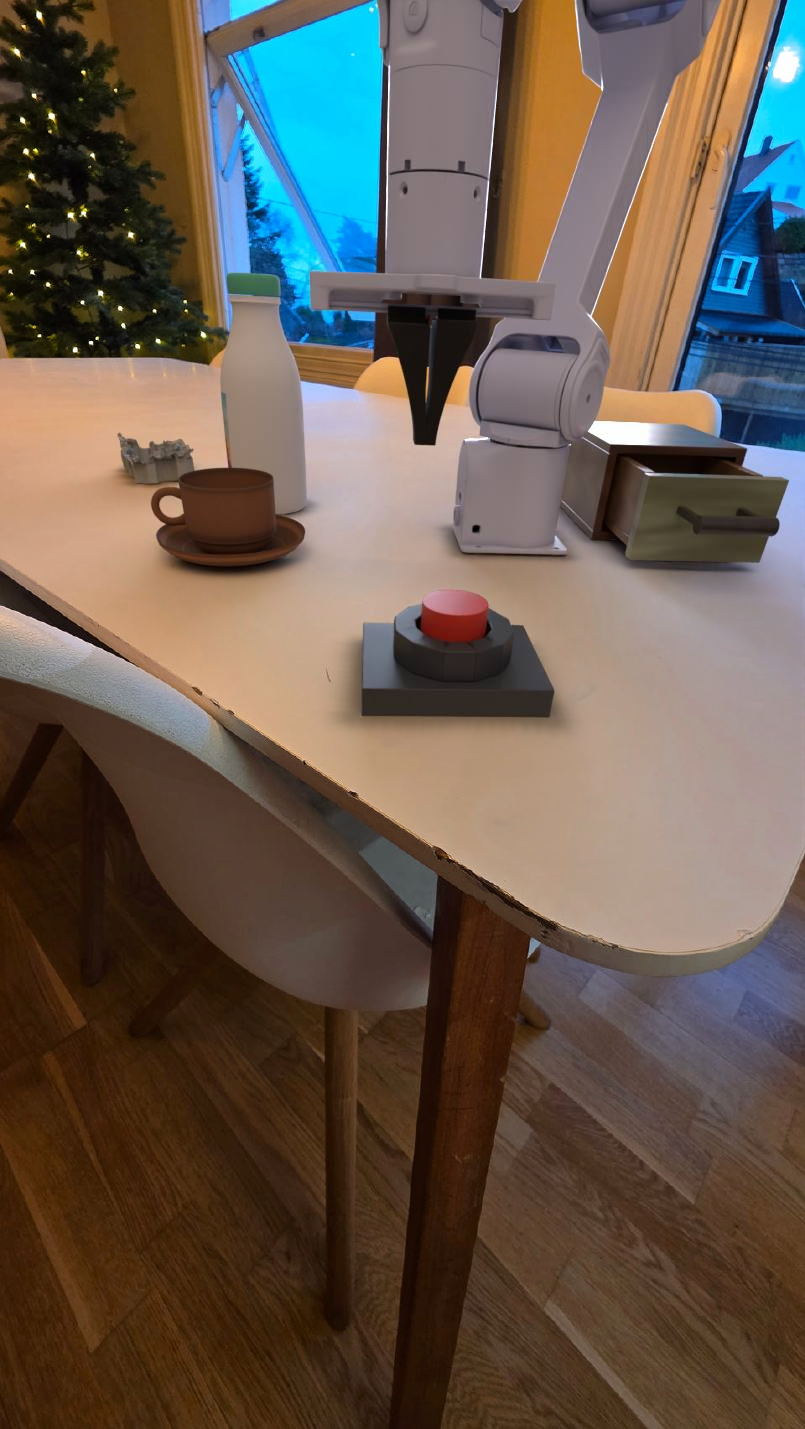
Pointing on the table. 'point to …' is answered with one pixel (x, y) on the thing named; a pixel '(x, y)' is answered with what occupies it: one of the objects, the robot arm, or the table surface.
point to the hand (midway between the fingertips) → (424, 442)
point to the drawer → (692, 508)
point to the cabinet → (607, 439)
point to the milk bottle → (263, 391)
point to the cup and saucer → (226, 519)
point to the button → (454, 615)
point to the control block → (452, 671)
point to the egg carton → (156, 460)
